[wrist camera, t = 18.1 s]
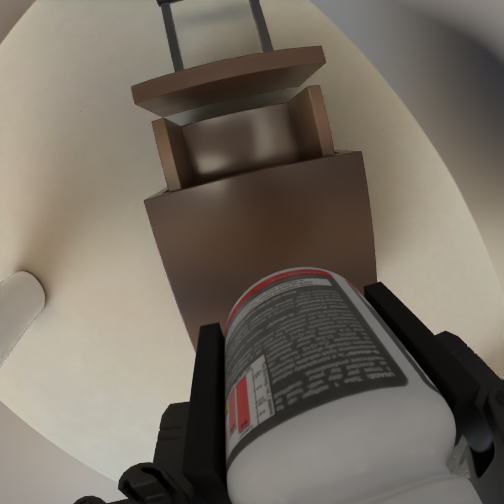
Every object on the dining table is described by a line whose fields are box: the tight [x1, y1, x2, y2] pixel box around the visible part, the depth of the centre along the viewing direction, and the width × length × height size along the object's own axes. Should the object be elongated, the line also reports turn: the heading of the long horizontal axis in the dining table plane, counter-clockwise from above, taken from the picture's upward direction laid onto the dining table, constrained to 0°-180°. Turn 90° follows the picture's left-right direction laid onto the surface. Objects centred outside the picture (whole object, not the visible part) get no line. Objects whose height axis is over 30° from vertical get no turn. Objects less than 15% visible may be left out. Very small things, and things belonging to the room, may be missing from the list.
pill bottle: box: [224, 267, 482, 504], centre depth 8 cm, size 6×6×10 cm
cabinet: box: [144, 150, 377, 352], centre depth 23 cm, size 15×13×10 cm
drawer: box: [131, 0, 335, 192], centre depth 20 cm, size 22×11×8 cm, turn 13°
